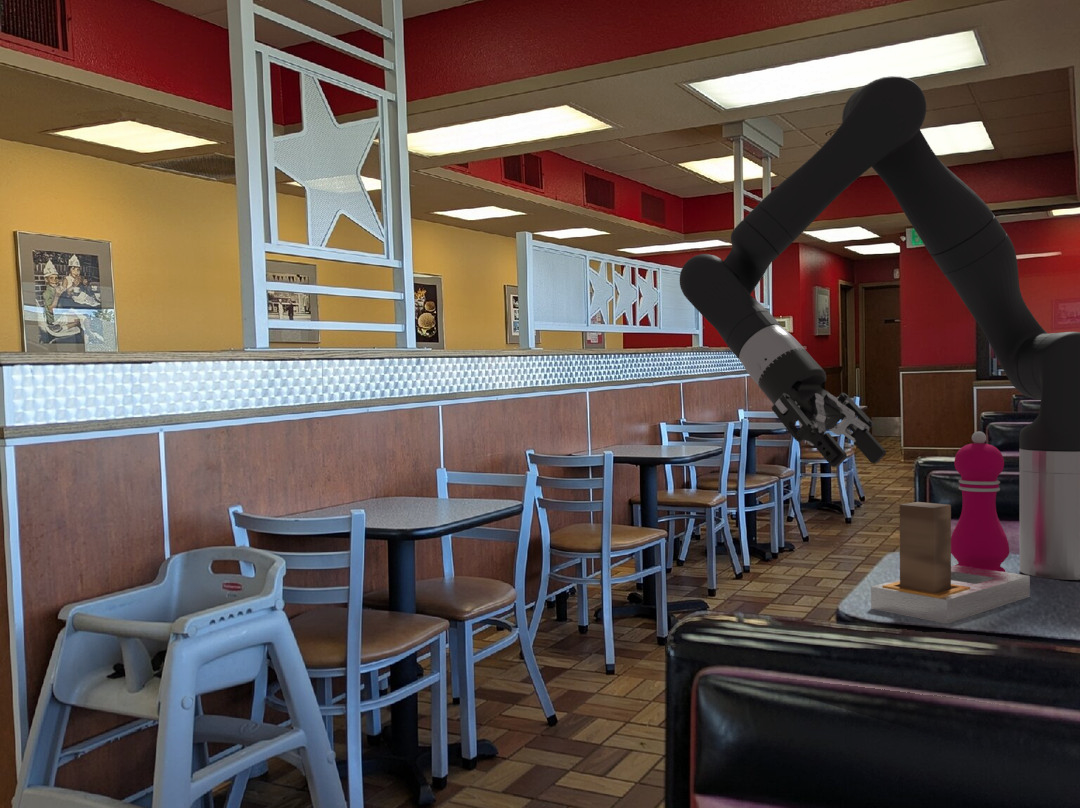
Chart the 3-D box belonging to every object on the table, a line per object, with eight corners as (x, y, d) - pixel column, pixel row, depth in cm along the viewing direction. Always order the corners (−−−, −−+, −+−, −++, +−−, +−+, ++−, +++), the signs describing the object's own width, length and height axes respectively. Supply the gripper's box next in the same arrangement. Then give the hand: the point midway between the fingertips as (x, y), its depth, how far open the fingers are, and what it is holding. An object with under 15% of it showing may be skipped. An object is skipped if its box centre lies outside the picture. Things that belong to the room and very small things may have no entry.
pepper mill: (958, 573, 128) (958, 429, 128) (1015, 579, 124) (1015, 430, 124) (942, 581, 123) (942, 431, 123) (1001, 588, 118) (1001, 433, 118)
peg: (917, 604, 108) (917, 501, 108) (950, 610, 105) (950, 504, 105) (899, 609, 105) (899, 504, 105) (934, 615, 102) (933, 507, 102)
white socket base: (956, 588, 119) (956, 563, 118) (1029, 600, 112) (1029, 574, 112) (871, 612, 106) (870, 584, 106) (946, 627, 99) (947, 598, 99)
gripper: (764, 345, 113) (847, 441, 104) (830, 347, 122) (912, 437, 113) (730, 388, 117) (807, 485, 109) (796, 388, 126) (873, 477, 118)
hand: (861, 460), depth 111 cm, fingers open, 8 cm apart
